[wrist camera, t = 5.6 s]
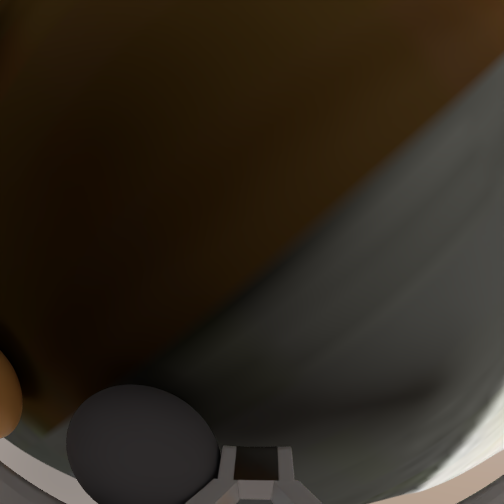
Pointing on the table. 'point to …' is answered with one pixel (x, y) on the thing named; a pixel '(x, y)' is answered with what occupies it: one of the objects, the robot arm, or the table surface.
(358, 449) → the table surface
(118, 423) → the dark gray ball
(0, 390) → the orange ball
